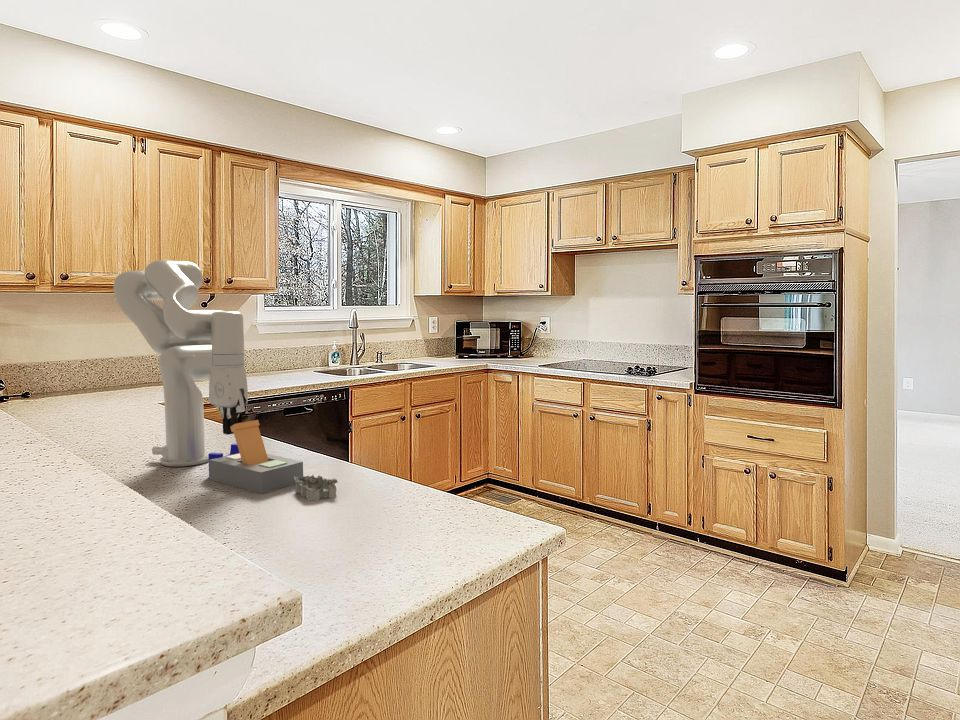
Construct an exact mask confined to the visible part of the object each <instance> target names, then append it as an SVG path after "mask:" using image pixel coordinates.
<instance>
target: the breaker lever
mask: <svg viewBox="0 0 960 720" xmlns="http://www.w3.org/2000/svg"><path fill="white" fill-rule="evenodd" d="M260 425H261V424H260V422H259V419H256V420H255V419H254V420H249V421H244V422H238V423H237V424H234V425H232V426H231V427H230V428H231V431H232V432H234V434H233V435H234V438H235V442H236V444H237V446H238V449H239V452H240V456H241V459H242V463H244V464H248V465H255V464H260V463H264V462H268V461H269V460H268V457H267V454H268V453H267V451H266V447H265V444H264V441H263V440H264V439H263V438H262V435H261V430H260V428H259V426H260Z"/></svg>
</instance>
